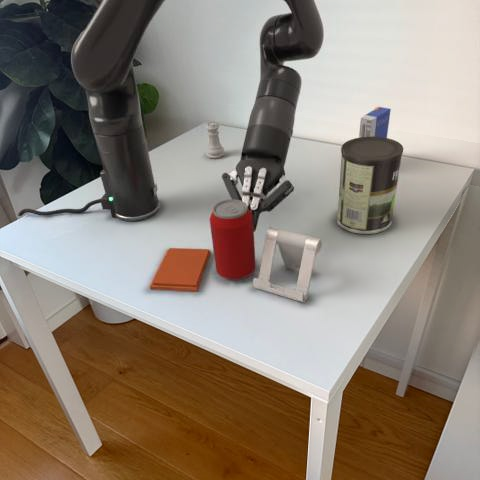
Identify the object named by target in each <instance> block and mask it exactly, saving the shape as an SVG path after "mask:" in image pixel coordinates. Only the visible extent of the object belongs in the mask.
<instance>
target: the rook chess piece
mask: <svg viewBox="0 0 480 480" xmlns="http://www.w3.org/2000/svg"><path fill="white" fill-rule="evenodd" d="M219 128H220V125H219V124H218V121H217V120H213V121H212V120H209V121H207V122H206V125H205V129H206V130H207V135H208V144H207V147H206V156H207V158H209V159H213V160H214V159H215V160H216V159H221V158H222V157H224V155H225V151H224V149H225V148H224V146H222V143H221V141H220V137H219V134H220V132H219Z"/></svg>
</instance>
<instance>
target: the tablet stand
mask: <svg viewBox="0 0 480 480" xmlns="http://www.w3.org/2000/svg"><path fill="white" fill-rule="evenodd" d="M322 245H323V239H322V238H317V237H313V236H310V235H309V236H308V235H305V234H300V233H298V232H297V233H296V232H292V231H288V230H284V229H280V228H276V227H269V228H267V230H266V232H265V238H264V243H263V249H262V256H261V262H260V269H259V272H258V273H259V274H258V277H254V278H253V279H252V280H253V281H252V282H253V283H252V285H253V288H255V289H258V290H260V291H265V292H268V293H272V294H275V295H278V296H281V297H285V298H288V299H291V300H294V301H297V302H301V303H305V302H306V300H307V298H308V294H309V289H310V283H311V279H312V275H313V271H314V266H315V265H314V264H315V259H316V256H317V255H318V254H319V253H320V251H321V249H322ZM277 246H278V250H279V253H280V255H281V258H282V261H283V265H284V267H285V268H286V269H288V270H290V271H291V270H292V271H294V268H298V269H299V273H298V278H297V282H296V287H295V289H294V288H291V287H287V286H285V287H284V286H280V285H277V284H273V283H272V282H271V278H272V277H271V276H272V270H273V264H274V258H275V252H276V248H277Z"/></svg>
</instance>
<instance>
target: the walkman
mask: <svg viewBox="0 0 480 480" xmlns="http://www.w3.org/2000/svg"><path fill="white" fill-rule="evenodd" d="M391 110H392V109H391V108H389V107H382V106H377V107H375V108H374V109H373V110H371V111H369V112H368V113H366V114H364V115H363V116H361V117H360V123H359V132H358V133H359V134H358V138H360V137H384V138H388V134H389V133H388V131H389V124H390V119H391V118H390V117H391Z"/></svg>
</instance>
